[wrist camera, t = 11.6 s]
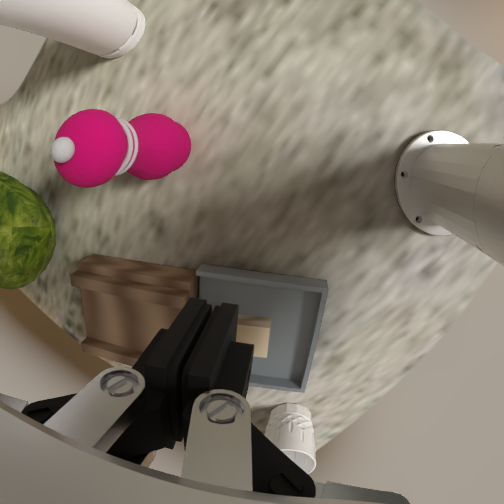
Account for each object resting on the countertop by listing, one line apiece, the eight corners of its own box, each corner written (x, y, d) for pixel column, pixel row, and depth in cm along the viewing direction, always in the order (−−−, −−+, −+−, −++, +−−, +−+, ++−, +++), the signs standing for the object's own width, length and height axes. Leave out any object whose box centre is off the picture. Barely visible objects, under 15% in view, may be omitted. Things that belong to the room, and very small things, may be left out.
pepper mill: (172, 187, 37) (67, 226, 18) (129, 154, 37) (9, 168, 18) (207, 138, 35) (117, 129, 16) (161, 105, 34) (49, 78, 16)
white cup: (273, 395, 45) (266, 444, 35) (322, 405, 44) (324, 454, 35) (260, 426, 47) (252, 473, 38) (305, 435, 47) (304, 482, 38)
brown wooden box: (199, 270, 40) (184, 289, 35) (197, 359, 44) (185, 384, 39) (93, 253, 42) (69, 267, 36) (102, 337, 46) (84, 356, 40)
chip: (232, 323, 38) (235, 314, 41) (231, 353, 40) (234, 343, 42) (269, 328, 38) (271, 318, 40) (266, 358, 39) (268, 347, 42)
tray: (326, 280, 38) (328, 288, 36) (304, 381, 43) (304, 392, 41) (201, 263, 40) (196, 270, 37) (199, 365, 45) (194, 375, 42)
